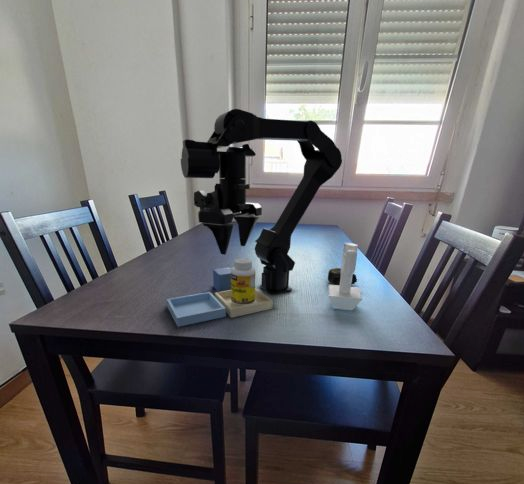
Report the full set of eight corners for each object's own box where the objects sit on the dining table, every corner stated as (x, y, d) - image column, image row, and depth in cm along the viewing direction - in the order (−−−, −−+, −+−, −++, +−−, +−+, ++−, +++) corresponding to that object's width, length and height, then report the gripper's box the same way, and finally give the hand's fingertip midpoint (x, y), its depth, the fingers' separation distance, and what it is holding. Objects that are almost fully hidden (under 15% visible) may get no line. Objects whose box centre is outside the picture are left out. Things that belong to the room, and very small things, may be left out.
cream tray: (252, 293, 73) (252, 285, 72) (272, 308, 64) (272, 300, 64) (214, 300, 68) (214, 292, 67) (231, 317, 60) (231, 309, 59)
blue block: (230, 284, 78) (230, 267, 77) (237, 290, 74) (237, 272, 73) (213, 286, 76) (212, 269, 74) (220, 293, 72) (219, 275, 70)
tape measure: (333, 288, 77) (334, 275, 76) (323, 279, 83) (324, 267, 82) (356, 287, 78) (358, 274, 77) (344, 278, 85) (346, 267, 83)
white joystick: (356, 299, 70) (365, 240, 65) (360, 316, 62) (371, 249, 56) (327, 296, 72) (333, 238, 66) (326, 312, 63) (334, 247, 58)
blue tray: (210, 299, 69) (210, 291, 68) (225, 316, 60) (225, 308, 60) (167, 307, 64) (166, 299, 63) (177, 327, 56) (176, 318, 55)
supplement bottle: (226, 303, 65) (225, 261, 62) (239, 295, 70) (239, 255, 66) (246, 309, 63) (246, 265, 59) (259, 300, 67) (260, 259, 64)
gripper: (223, 178, 71) (224, 239, 77) (173, 177, 55) (180, 254, 61) (263, 179, 67) (261, 243, 73) (222, 179, 51) (224, 261, 57)
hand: (233, 249), depth 66 cm, fingers open, 9 cm apart
